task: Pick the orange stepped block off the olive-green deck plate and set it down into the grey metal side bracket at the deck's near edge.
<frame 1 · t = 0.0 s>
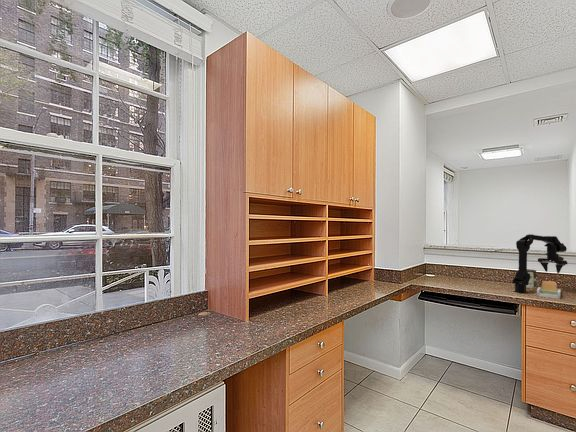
hand: (552, 272, 236), 15 cm above the worktop, tool pointing down, fingers open, 9 cm apart
coffee can: (528, 287, 253), on the worktop
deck: (548, 295, 220), on the worktop
orange stepped block: (549, 289, 230), point 2 cm above the worktop, touching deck
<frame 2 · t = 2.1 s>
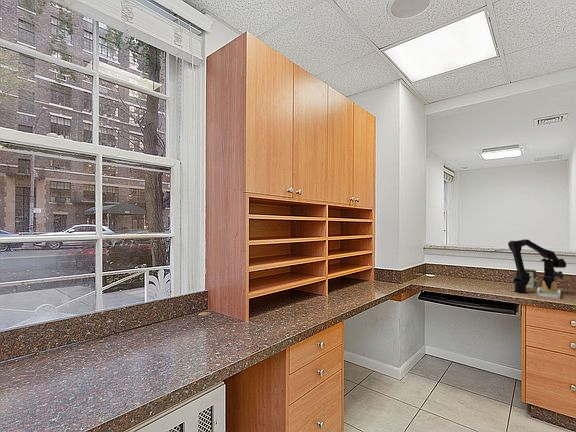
hand: (549, 288, 230), 4 cm above the worktop, tool pointing down, fingers closed on orange stepped block, 6 cm apart
orange stepped block: (549, 289, 230), point 2 cm above the worktop, touching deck, gripper
everything else where it was.
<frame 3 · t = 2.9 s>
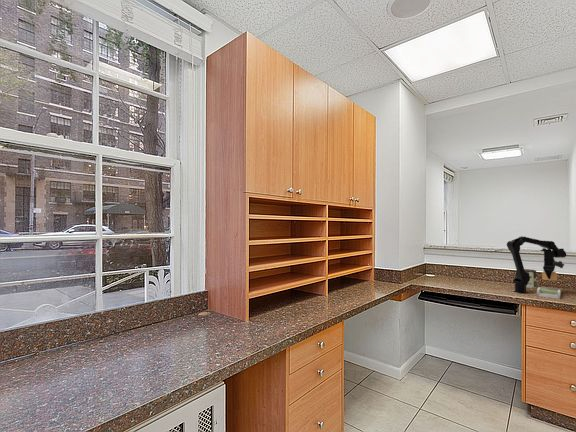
hand: (549, 278, 230), 11 cm above the worktop, tool pointing down, fingers closed on orange stepped block, 6 cm apart
orange stepped block: (549, 279, 230), point 10 cm above the worktop, touching gripper
everything else where it was.
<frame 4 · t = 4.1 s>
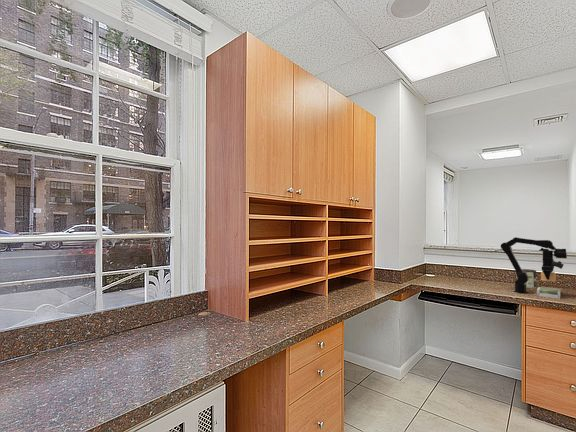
hand: (548, 279, 221), 12 cm above the worktop, tool pointing down, fingers closed on orange stepped block, 6 cm apart
orange stepped block: (548, 280, 221), point 11 cm above the worktop, touching gripper
everything else where it was.
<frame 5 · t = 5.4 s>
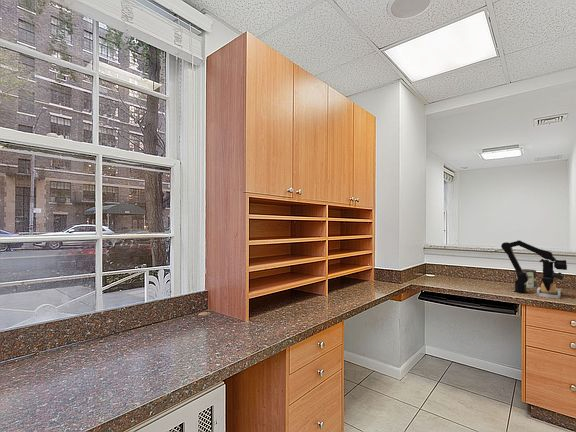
hand: (548, 290, 220), 4 cm above the worktop, tool pointing down, fingers closed on orange stepped block, 6 cm apart
orange stepped block: (548, 291, 220), point 3 cm above the worktop, touching gripper
everything else where it was.
when the fingers open (3 cm above the worktop, at t = 6.2 s): orange stepped block drops 2 cm, resting in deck.
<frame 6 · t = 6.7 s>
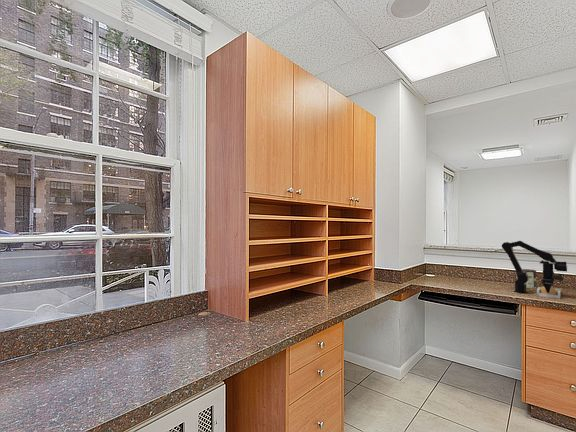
hand: (548, 291, 220), 3 cm above the worktop, tool pointing down, fingers open, 9 cm apart
orange stepped block: (548, 296, 220), resting in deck
everything else where it was.
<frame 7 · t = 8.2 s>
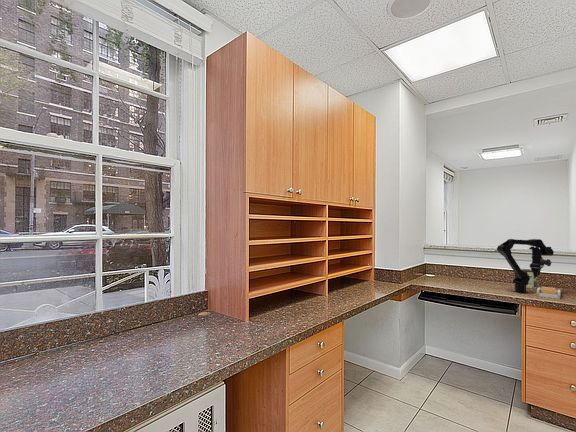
hand: (537, 276, 231), 12 cm above the worktop, tool pointing down, fingers open, 9 cm apart
nothing on the worktop moved.
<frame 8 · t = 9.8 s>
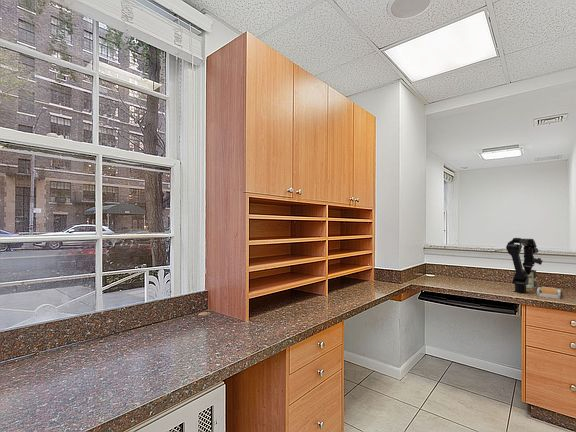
hand: (528, 274, 240), 12 cm above the worktop, tool pointing down, fingers open, 9 cm apart
nothing on the worktop moved.
at the end: orange stepped block 0.1 cm from the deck (horizontally); orange stepped block resting in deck; orange stepped block tilted 0° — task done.
